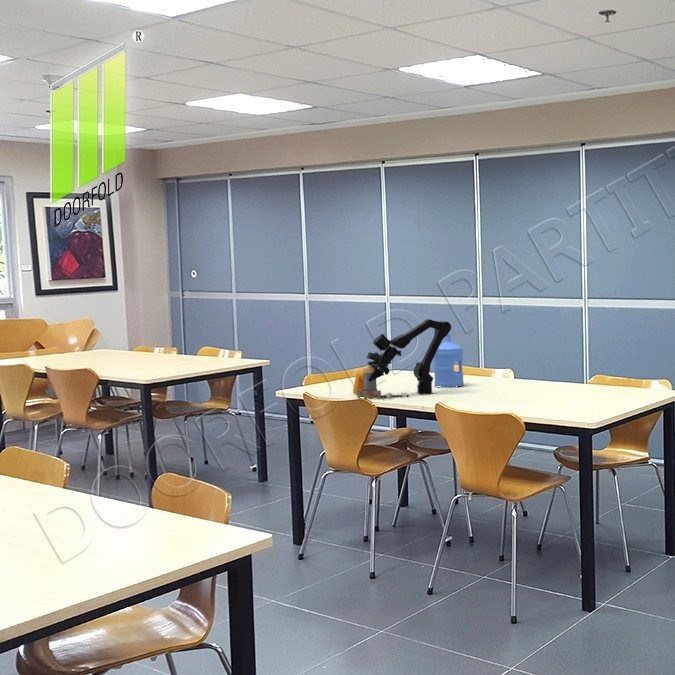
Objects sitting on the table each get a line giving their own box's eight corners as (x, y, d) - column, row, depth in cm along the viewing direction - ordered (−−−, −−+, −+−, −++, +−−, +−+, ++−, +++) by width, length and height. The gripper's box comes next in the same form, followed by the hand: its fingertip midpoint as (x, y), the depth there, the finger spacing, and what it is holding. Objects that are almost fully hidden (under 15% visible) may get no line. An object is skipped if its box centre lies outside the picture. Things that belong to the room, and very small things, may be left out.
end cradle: (376, 395, 466) (376, 388, 466) (381, 398, 456) (380, 390, 456) (357, 396, 464) (357, 389, 464) (361, 399, 455) (361, 391, 454)
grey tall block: (373, 393, 463) (372, 364, 463) (376, 394, 459) (375, 365, 458) (363, 394, 462) (363, 365, 461) (367, 395, 457) (366, 366, 456)
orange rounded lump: (364, 395, 469) (363, 372, 468) (353, 395, 473) (352, 371, 473) (377, 393, 477) (376, 370, 476) (365, 392, 482) (365, 369, 481)
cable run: (408, 396, 459) (408, 394, 459) (408, 397, 457) (408, 395, 457) (379, 397, 461) (379, 395, 461) (379, 397, 459) (379, 395, 459)
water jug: (433, 388, 491) (432, 335, 489) (435, 384, 506) (434, 333, 504) (463, 387, 488) (462, 335, 486) (464, 384, 504) (462, 333, 502)
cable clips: (406, 396, 460) (406, 392, 460) (406, 397, 457) (406, 393, 457) (386, 396, 461) (386, 392, 461) (386, 397, 457) (386, 393, 457)
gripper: (369, 345, 469) (350, 368, 466) (382, 347, 451) (362, 371, 448) (384, 359, 472) (365, 382, 469) (398, 362, 454) (378, 386, 451)
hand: (367, 380), depth 459 cm, fingers open, 5 cm apart
